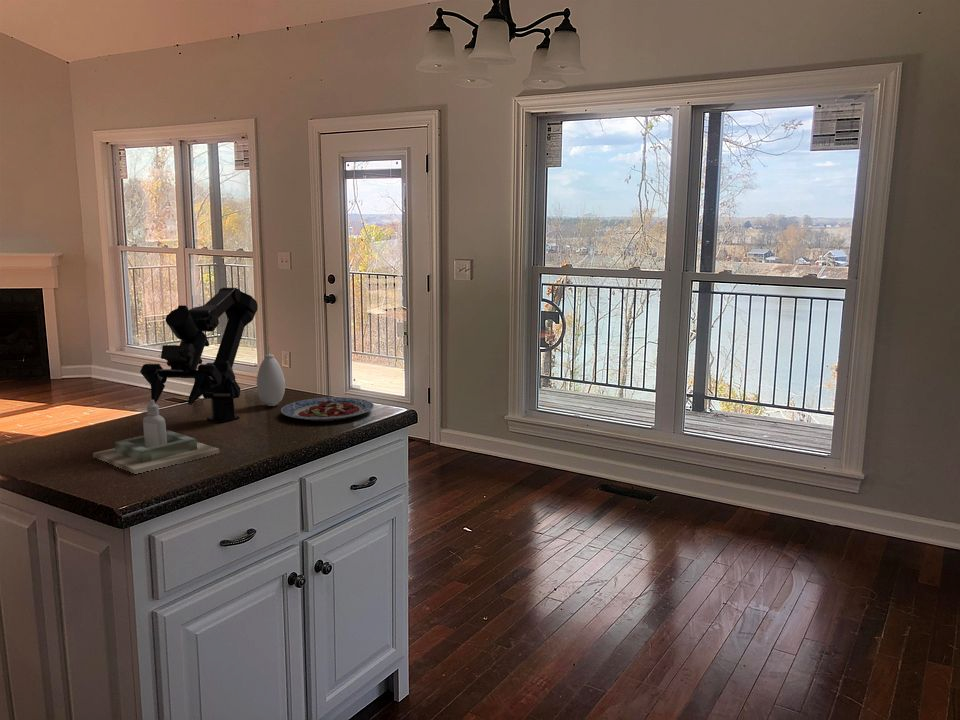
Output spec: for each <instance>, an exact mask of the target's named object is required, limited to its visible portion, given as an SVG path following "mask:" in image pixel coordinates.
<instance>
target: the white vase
mask: <svg viewBox="0 0 960 720" xmlns="http://www.w3.org/2000/svg"><path fill="white" fill-rule="evenodd" d="M267 351H268V353H267V354H265V355H264V359H262V362H261V363H260V365H259V368H258V372H257V375H256V391H257V393H258V397H259V399H260V400H261V403H264V404H265V405H266V406H268V407H270V406H273V407H275V406H276V405H278V404H279V403H280V402H282V400H283V398H284V395H285V391H286V381H285V376H284V375H285V374H284V372H283V370H282V369H283V368H282V367H281V365H280V363H279V362H278V361H277V359H276V358H275V355H274V354H272V353H271V350H270V346H269V345H268V346H267Z"/></svg>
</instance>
